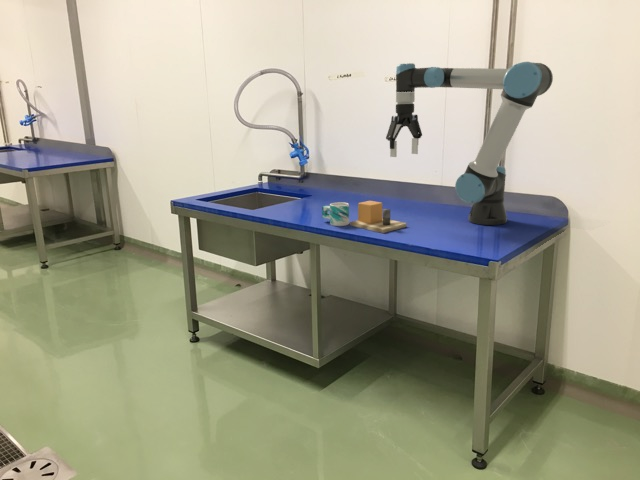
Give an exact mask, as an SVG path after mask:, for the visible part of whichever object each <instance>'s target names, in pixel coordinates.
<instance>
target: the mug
mask: <svg viewBox="0 0 640 480" xmlns="http://www.w3.org/2000/svg"><path fill="white" fill-rule="evenodd" d="M321 213H322V215H321V216H322V217H321V218H322V219H327V220H330V221H329V224H330V226H334V227H335V226H336V227H342V226H347V225H349V224H350V205H349V203H348V202H344V201H343V202H341V201H338V202H331V203H329V205H324V206H322V207H321Z"/></svg>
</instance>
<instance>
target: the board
mask: <svg viewBox="0 0 640 480" xmlns="http://www.w3.org/2000/svg"><path fill="white" fill-rule="evenodd" d="M349 224H350V226H351V227H356V228H358V229H359V228H360V229H364V230H368V231H372V232H376V233H381V234H385V233H389V232H392V231H396V230H399V229H403V228H406V227H407V226H408V225H407V222H402V221H398V220H393V219H391V209H390V208H382V221H379V222H375V223H371V224H370V223H365V222H361V221H358V219H356V220H353V221H349Z"/></svg>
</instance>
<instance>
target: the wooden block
mask: <svg viewBox="0 0 640 480" xmlns="http://www.w3.org/2000/svg"><path fill="white" fill-rule="evenodd" d="M382 218H383V202H381V201H374V200H367V201H362V202H358V203H357V220H358V221H361V222H365V223H370V224H371V223H375V222H379V221H382Z"/></svg>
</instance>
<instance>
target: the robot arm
mask: <svg viewBox="0 0 640 480" xmlns="http://www.w3.org/2000/svg"><path fill="white" fill-rule="evenodd" d="M553 75H554V74H553V73H552V70H551V68H550V67H549V66H547V64H544V63H541V62H531V61H522V62H519V63H516V64H514V65H512V66H511V67H509V68H480V67H479V68H478V67H477V68H476V67H475V68H473V67H471V68H470V67H469V68H468V67H466V68H463V67H462V68H458V67H455V68H454V67H438V66H430V67H418V68H416V64H415V63H413V62H412V63H410V62H409V63H408V62H407V63H399V64H397V66H396V72H395V86H396V89H395V114H397V115H391V121H390V124H389V127H388V130H387V133H386V137H385V139H386V140H387V141H389V149H390V150H389V151H390V152H389V153H390V154H389V156H390V158H397V152H398V151H397V150H398V149H397V148H398V147H397V145H398V142H397V137H398V135H399V134H400V132H401V130H402V128H404V127H407V129H408V131H409V132H410V134H411V136H412V138H411V154H412V155H418V153H419V149H418V148H419V140H420V139H421V138H422V136H423V133H422V130H421V129H422V128H421V126H420V123H419V122H420V121H419V118H418V117H419V115H418V114H413V113H415V103H414V102H415V99H416V98H415V89H418V88H419V89H422V88H423V89H424V88H432V89H434V88H455V89H456V88H460V89H462V88H463V89H482V90H483V89H485V90H486V89H487V90H502V91H501V94H500V98H501V100H502V101H501V103H500V105H499V108H498V110H497V112H496V114H495V117H494V119H493V120H492V123H491V125H490V127H489V129H488V131H487V133H486V135H485V138H484V140H483V142H482V144H481V147H480V149H479V151H478V153H477V155H476V157H475V160H474V161H473V160H472V161H470V162H468V165H467V167H466V169H465V171H464V173H463V174H461V175H459V177H458V178H457V179H456V181H455V185H454V189H455V192H456V195H457V197H458V198H459V199H460V200H462V201H463V202H464V203H467V204H472V207H471V209H470V211H469V213H468V221H469V222H470V223H473V224H477V225H484V226H497V225H498V226H499V225H504V224H506V223H507V222H508V215H507V211H506V207H505V203H504V201H505V188H506V186H505V185H506V176H507V173H506V167H504V166H501V165H500V164H501V160H502V159H503V157H504V154H505V152H506V150H507V149H508V146H509V144H510V142H511V140H512V138H513V136H514V134H515V132H516V131H517V128H518V127H519V124H520V123H521V120H522V118H523V116H524V114H525V112H526V111H527V110H529V109H532V107H533V106H534V104H535V102H536V100H537V97H539V96H542V95H544V94H545V93H546V92H547V91H548V90H549V89H550V88H551V86H552V83H553V79H554V78H553V77H554V76H553Z"/></svg>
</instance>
